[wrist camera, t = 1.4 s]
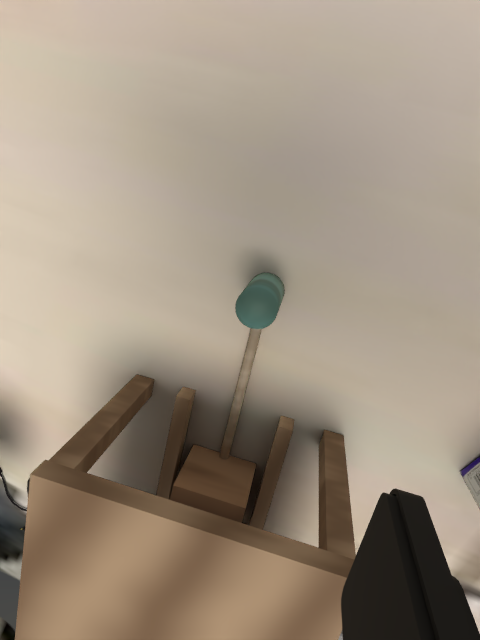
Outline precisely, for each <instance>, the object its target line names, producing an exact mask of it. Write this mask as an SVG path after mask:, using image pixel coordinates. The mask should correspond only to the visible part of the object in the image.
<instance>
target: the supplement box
mask: <svg viewBox="0 0 480 640" xmlns="http://www.w3.org/2000/svg"><path fill="white" fill-rule="evenodd" d="M460 473H461V475H462V477H463V479H464V481H465V483H466V485H467V487H468V488H469V490H470V492H471V494H472V496H473V498H474V500H475V502H476V503H477V505H478V507H479V509H480V457H479V458H477V459H476V460H475V461H473V462H472V463H471V464H470V465H468V466H467V467H466V468H464V469H463V470H462V471H460Z"/></svg>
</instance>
